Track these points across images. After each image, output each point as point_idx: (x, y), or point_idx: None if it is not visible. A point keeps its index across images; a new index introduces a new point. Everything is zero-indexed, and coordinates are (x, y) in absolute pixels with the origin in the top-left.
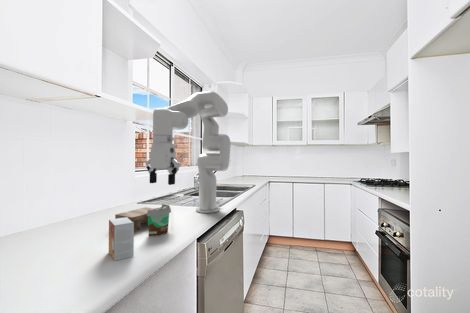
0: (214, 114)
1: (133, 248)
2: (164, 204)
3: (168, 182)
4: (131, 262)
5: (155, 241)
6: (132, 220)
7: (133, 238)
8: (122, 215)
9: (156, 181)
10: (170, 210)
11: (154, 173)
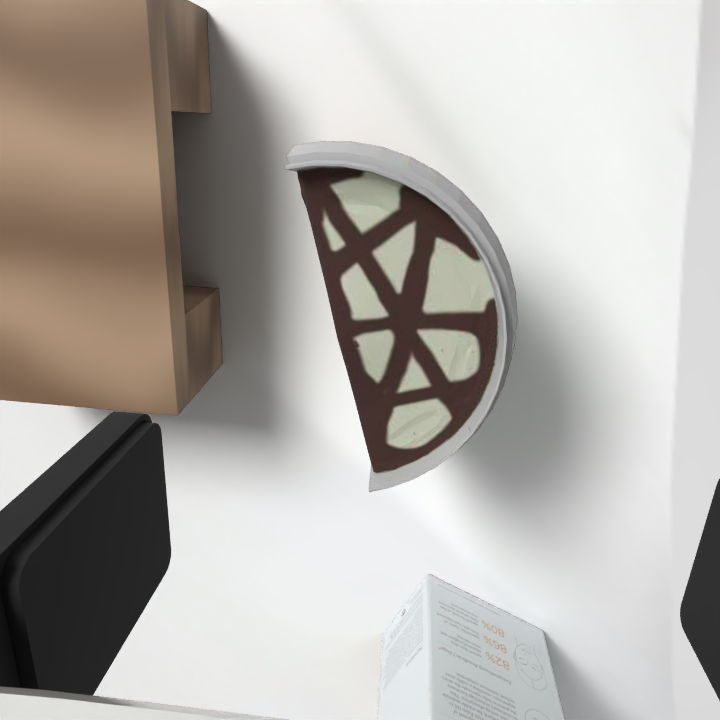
0: None
1: (551, 664)
2: (324, 165)
3: (713, 665)
4: (584, 674)
5: (510, 433)
6: (187, 401)
7: (563, 715)
8: (39, 395)
9: (151, 430)
10: (500, 253)
11: (32, 652)
